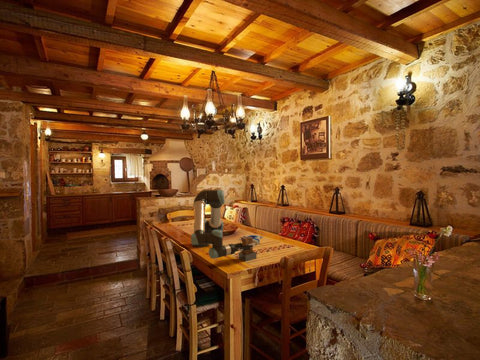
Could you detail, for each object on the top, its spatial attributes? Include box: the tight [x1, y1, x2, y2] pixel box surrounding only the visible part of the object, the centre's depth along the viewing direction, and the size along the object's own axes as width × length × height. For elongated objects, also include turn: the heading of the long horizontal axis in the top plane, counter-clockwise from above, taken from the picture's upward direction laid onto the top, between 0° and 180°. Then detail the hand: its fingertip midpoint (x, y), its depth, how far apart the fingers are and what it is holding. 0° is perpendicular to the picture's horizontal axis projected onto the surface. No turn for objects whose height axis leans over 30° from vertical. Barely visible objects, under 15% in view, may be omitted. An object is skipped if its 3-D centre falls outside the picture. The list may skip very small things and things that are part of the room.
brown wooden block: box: [241, 237, 254, 254], centre depth 204 cm, size 7×4×14 cm, turn 128°
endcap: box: [238, 250, 258, 262], centre depth 204 cm, size 11×8×5 cm
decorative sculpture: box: [239, 234, 263, 246], centre depth 259 cm, size 27×4×30 cm
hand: (252, 244), depth 207 cm, fingers closed on brown wooden block, 4 cm apart
